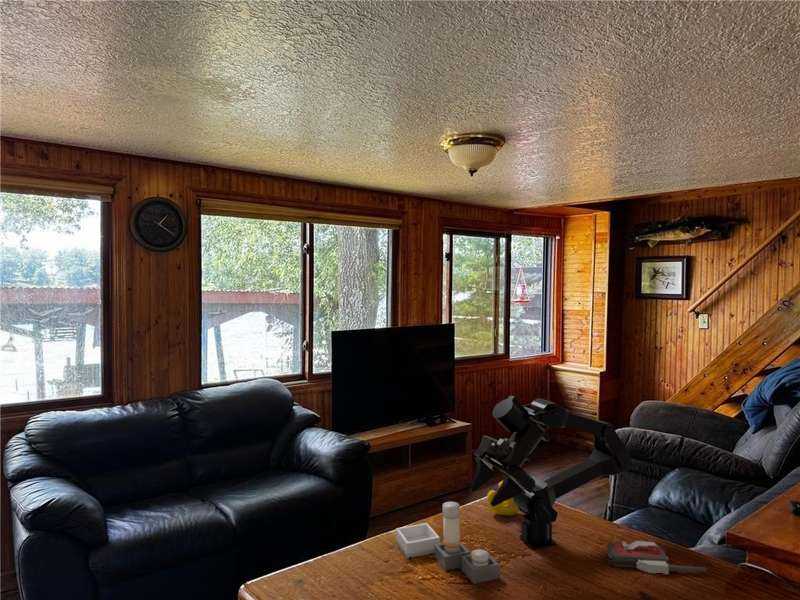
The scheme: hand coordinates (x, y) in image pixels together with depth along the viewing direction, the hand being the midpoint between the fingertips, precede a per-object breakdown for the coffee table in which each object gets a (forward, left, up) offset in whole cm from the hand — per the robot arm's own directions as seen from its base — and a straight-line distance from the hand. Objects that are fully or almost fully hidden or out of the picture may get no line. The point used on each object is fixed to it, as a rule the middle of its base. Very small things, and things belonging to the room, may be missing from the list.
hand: (481, 497), depth 128 cm
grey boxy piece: (+4, +7, -13) cm, 16 cm away
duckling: (-16, -17, -14) cm, 27 cm away
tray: (+13, -9, -13) cm, 20 cm away
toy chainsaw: (-33, +17, -14) cm, 40 cm away
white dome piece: (+4, +7, -13) cm, 16 cm away
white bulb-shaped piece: (+8, 0, -13) cm, 15 cm away
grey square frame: (+8, 0, -13) cm, 15 cm away
